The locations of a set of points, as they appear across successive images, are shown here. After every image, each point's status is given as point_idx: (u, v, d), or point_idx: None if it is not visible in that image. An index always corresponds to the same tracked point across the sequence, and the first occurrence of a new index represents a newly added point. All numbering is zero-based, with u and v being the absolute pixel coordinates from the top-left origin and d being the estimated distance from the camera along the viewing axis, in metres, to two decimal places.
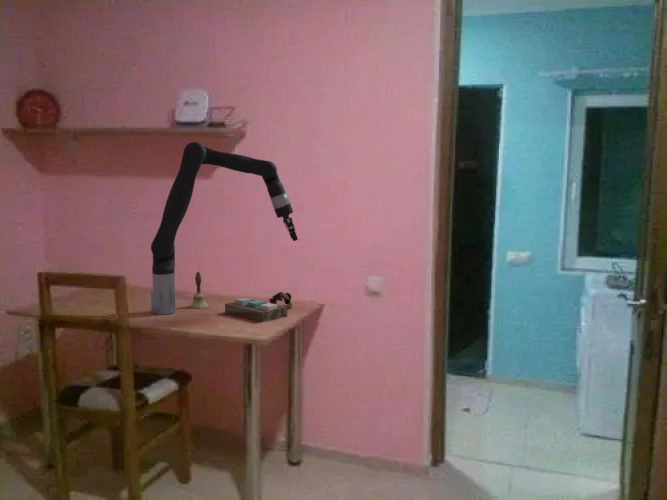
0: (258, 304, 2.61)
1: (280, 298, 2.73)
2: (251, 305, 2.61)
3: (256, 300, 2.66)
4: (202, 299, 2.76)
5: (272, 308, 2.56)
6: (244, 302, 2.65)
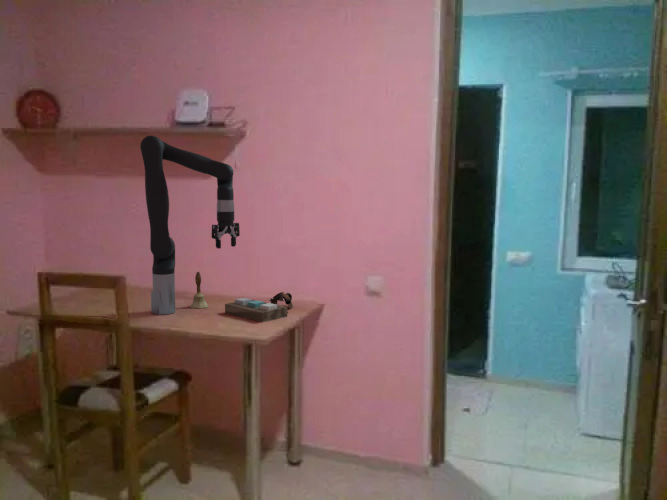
0: (258, 304, 2.61)
1: (281, 298, 2.73)
2: (251, 305, 2.61)
3: (256, 300, 2.66)
4: (202, 299, 2.76)
5: (272, 308, 2.56)
6: (244, 302, 2.65)
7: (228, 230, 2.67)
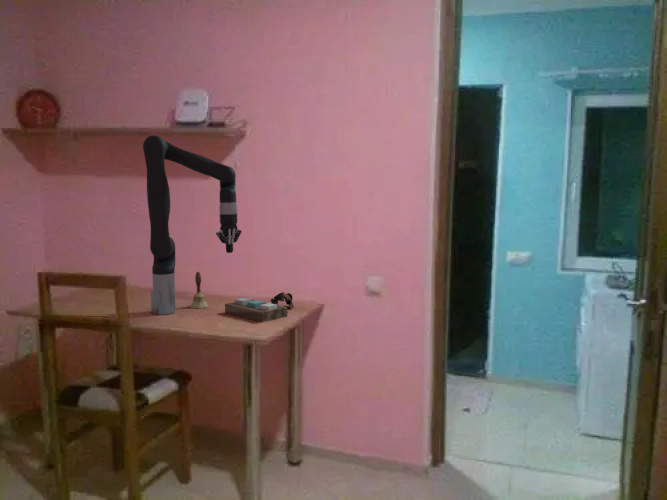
0: (258, 304, 2.61)
1: (281, 298, 2.72)
2: (251, 305, 2.61)
3: (256, 300, 2.66)
4: (202, 299, 2.76)
5: (272, 308, 2.56)
6: (244, 302, 2.65)
7: None
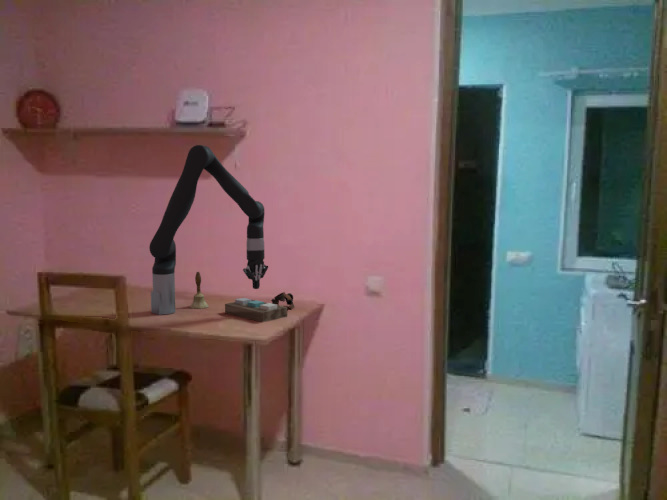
0: (258, 304, 2.61)
1: (282, 299, 2.72)
2: (251, 305, 2.61)
3: (256, 300, 2.66)
4: (202, 299, 2.76)
5: (272, 308, 2.56)
6: (244, 302, 2.65)
7: None
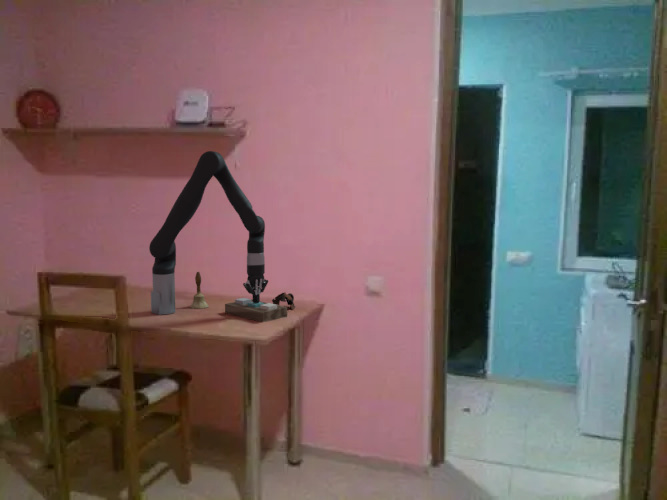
0: (258, 305, 2.61)
1: (283, 299, 2.72)
2: (251, 306, 2.61)
3: None
4: (202, 299, 2.76)
5: (272, 308, 2.56)
6: (244, 302, 2.65)
7: None
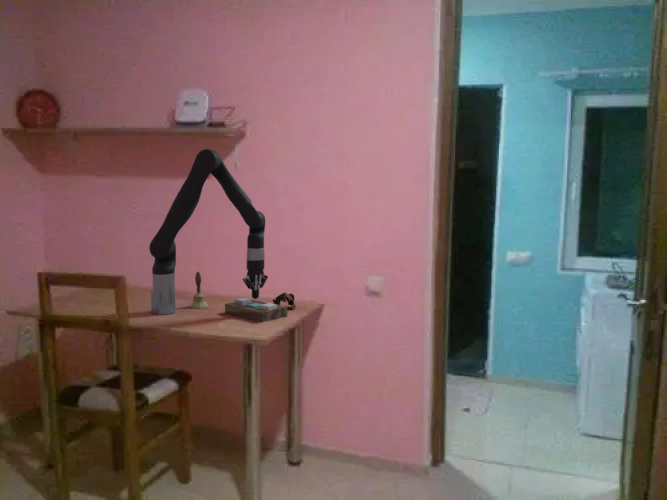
0: None
1: (284, 299, 2.71)
2: None
3: (256, 303, 2.66)
4: (202, 299, 2.76)
5: (272, 308, 2.56)
6: (244, 302, 2.65)
7: None
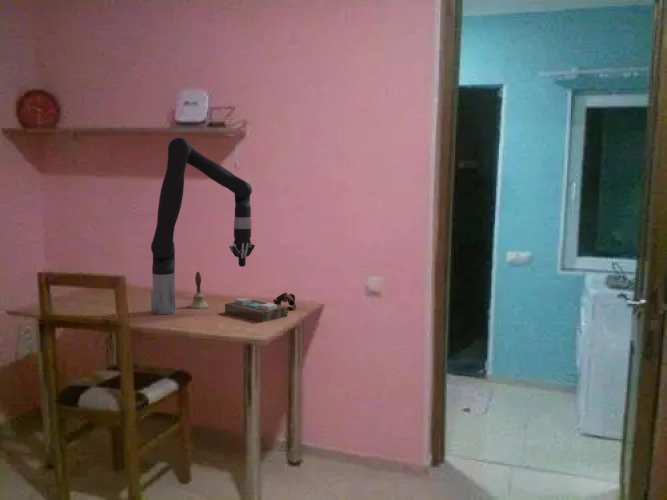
0: None
1: (284, 299, 2.71)
2: None
3: (256, 303, 2.66)
4: (202, 299, 2.76)
5: (272, 308, 2.56)
6: (244, 302, 2.65)
7: None
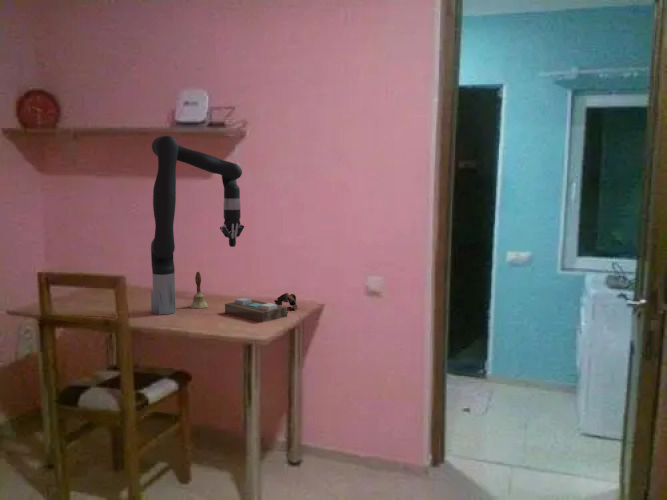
0: None
1: (286, 299, 2.71)
2: None
3: (256, 303, 2.66)
4: (202, 299, 2.76)
5: (272, 308, 2.56)
6: (244, 302, 2.65)
7: None
